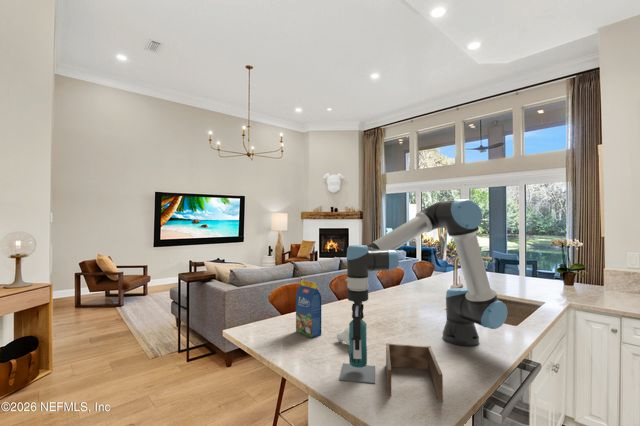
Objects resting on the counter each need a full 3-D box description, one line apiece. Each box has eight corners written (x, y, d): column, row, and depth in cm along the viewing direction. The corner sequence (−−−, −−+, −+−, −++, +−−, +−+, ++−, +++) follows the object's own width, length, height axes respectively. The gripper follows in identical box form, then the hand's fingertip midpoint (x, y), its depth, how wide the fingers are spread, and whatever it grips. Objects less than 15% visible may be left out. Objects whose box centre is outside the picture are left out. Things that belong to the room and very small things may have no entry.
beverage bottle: (365, 363, 112) (365, 308, 113) (369, 372, 106) (368, 313, 106) (347, 363, 112) (347, 308, 113) (350, 372, 105) (349, 314, 106)
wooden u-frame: (430, 368, 112) (430, 346, 112) (442, 401, 92) (442, 374, 92) (386, 364, 115) (386, 343, 115) (388, 396, 95) (387, 369, 95)
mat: (375, 367, 113) (375, 365, 113) (375, 383, 102) (375, 382, 102) (343, 364, 116) (343, 363, 116) (339, 380, 104) (339, 379, 104)
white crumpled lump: (353, 329, 128) (332, 325, 136) (355, 350, 128) (333, 345, 136) (362, 325, 133) (341, 322, 141) (364, 345, 132) (342, 341, 140)
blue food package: (311, 338, 141) (311, 284, 142) (295, 331, 150) (295, 280, 151) (321, 335, 146) (321, 282, 146) (305, 328, 154) (305, 278, 155)
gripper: (349, 283, 120) (350, 342, 119) (344, 294, 101) (344, 365, 100) (369, 283, 118) (369, 344, 118) (367, 295, 99) (367, 367, 99)
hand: (358, 353), depth 109 cm, fingers closed on beverage bottle, 6 cm apart
